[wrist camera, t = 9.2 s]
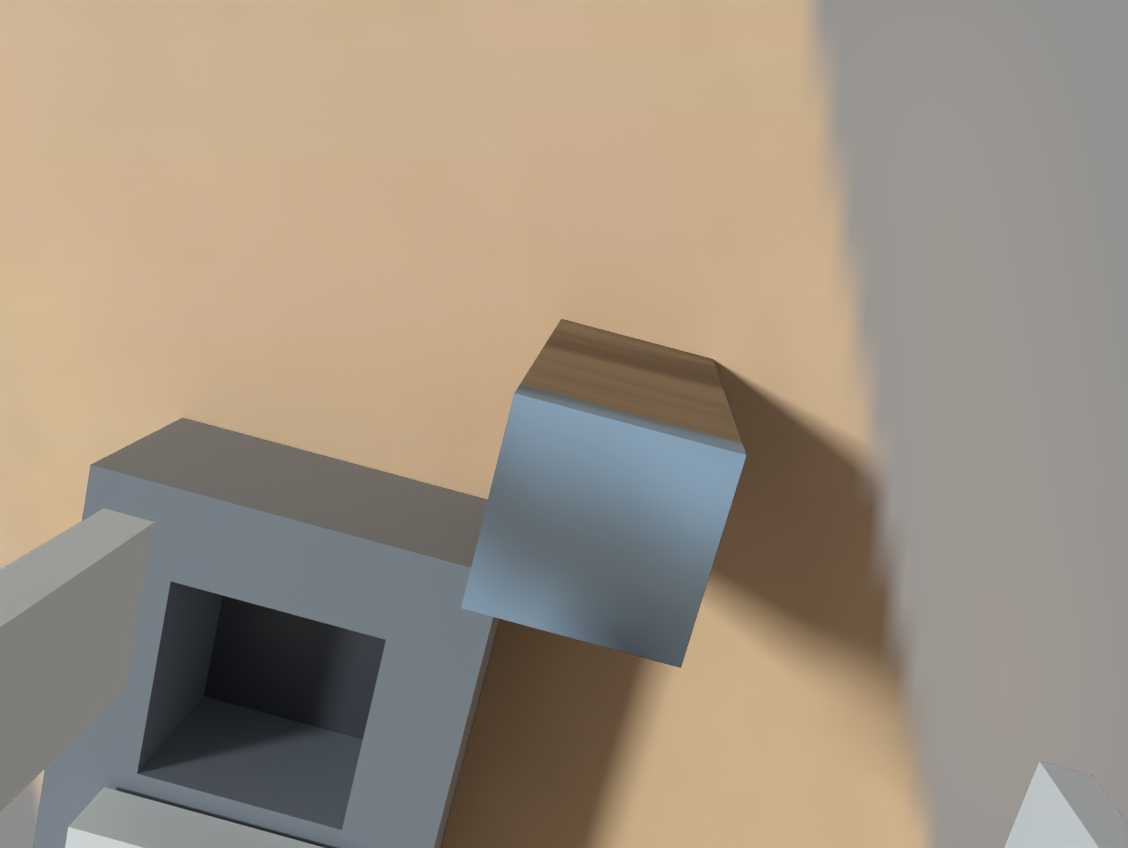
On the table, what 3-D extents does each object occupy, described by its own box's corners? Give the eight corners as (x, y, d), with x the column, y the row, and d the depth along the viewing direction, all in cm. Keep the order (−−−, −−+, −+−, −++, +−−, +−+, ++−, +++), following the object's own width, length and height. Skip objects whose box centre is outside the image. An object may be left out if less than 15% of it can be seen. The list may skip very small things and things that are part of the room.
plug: (561, 318, 34) (514, 393, 22) (712, 359, 34) (746, 455, 22) (524, 464, 35) (460, 608, 23) (670, 504, 35) (680, 667, 23)
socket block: (182, 417, 35) (90, 464, 30) (527, 510, 35) (503, 576, 29) (117, 799, 39) (23, 909, 33) (430, 886, 39) (391, 1011, 33)
